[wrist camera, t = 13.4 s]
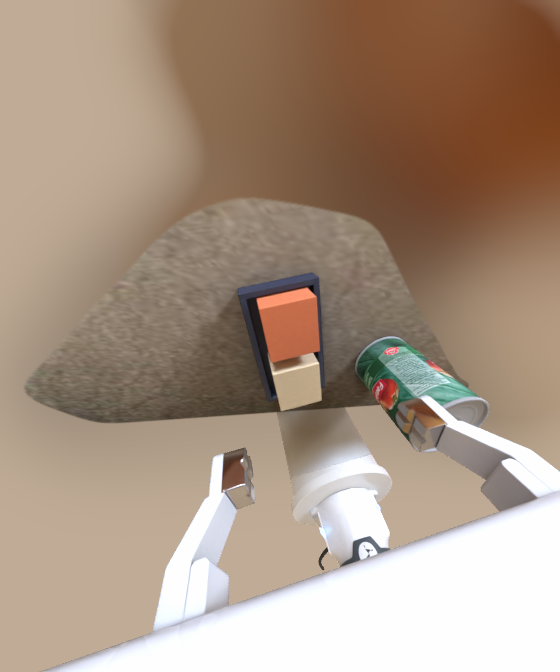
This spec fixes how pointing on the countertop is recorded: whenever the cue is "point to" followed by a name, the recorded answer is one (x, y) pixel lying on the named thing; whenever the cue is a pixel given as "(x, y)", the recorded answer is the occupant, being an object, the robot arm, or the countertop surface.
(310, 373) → the cream block
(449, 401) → the canned tomato
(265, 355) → the frame
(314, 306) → the orange block
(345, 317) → the countertop surface
